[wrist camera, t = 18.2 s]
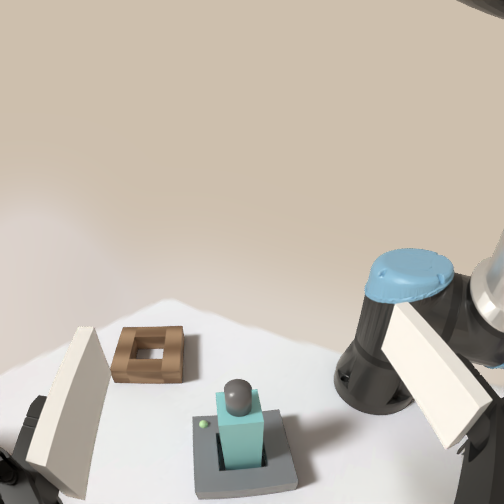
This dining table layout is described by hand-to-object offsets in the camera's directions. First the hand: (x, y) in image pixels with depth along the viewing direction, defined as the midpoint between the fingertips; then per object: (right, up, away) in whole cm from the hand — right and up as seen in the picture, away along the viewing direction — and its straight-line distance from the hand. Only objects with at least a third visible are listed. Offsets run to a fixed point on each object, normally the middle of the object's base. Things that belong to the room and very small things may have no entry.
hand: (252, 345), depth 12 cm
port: (-1, -23, +21) cm, 31 cm away
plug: (-1, -24, +21) cm, 31 cm away
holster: (-18, -16, +38) cm, 45 cm away
